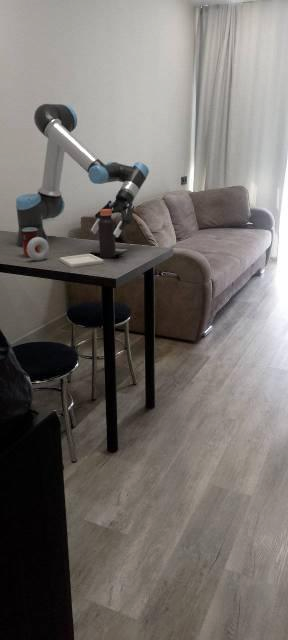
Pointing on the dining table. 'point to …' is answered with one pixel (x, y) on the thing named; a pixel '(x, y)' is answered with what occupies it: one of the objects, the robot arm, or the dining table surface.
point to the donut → (33, 244)
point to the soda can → (29, 238)
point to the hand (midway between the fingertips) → (104, 233)
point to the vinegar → (106, 234)
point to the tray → (81, 260)
